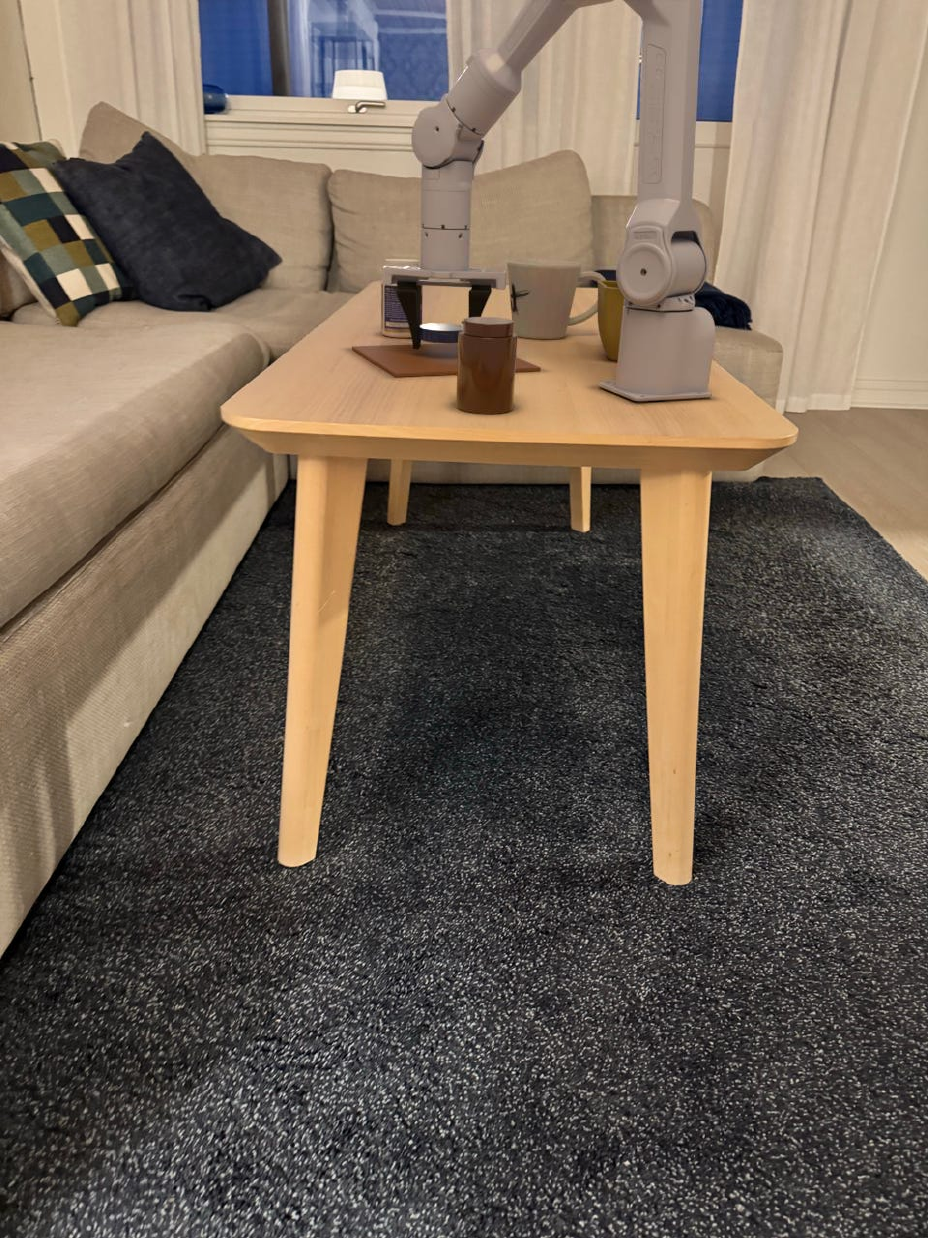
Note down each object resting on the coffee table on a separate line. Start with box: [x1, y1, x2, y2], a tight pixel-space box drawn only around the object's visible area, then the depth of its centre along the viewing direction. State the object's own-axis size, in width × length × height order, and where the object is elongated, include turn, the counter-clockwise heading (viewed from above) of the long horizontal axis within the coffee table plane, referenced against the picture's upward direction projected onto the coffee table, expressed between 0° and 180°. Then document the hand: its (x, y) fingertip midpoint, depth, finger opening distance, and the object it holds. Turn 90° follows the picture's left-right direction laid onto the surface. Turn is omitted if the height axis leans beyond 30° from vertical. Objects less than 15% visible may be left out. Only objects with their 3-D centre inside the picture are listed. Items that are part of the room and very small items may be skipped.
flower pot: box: [597, 280, 625, 362], centre depth 115 cm, size 9×9×9 cm
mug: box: [506, 258, 607, 340], centre depth 130 cm, size 10×15×10 cm
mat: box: [351, 343, 542, 378], centre depth 111 cm, size 18×18×1 cm
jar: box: [455, 316, 518, 415], centre depth 87 cm, size 6×6×8 cm
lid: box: [418, 322, 463, 344], centre depth 110 cm, size 6×6×2 cm
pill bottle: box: [380, 258, 424, 339], centre depth 125 cm, size 6×6×10 cm
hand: (442, 349), depth 111 cm, fingers closed on lid, 6 cm apart
